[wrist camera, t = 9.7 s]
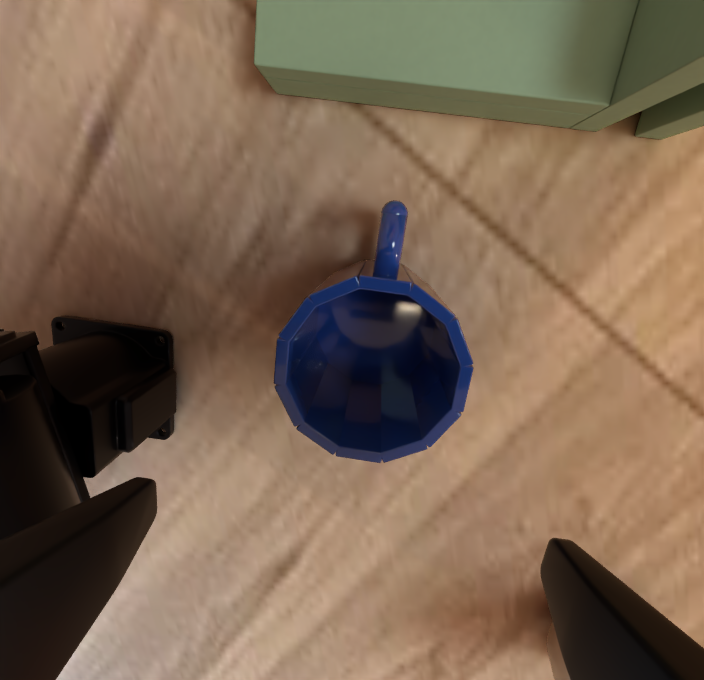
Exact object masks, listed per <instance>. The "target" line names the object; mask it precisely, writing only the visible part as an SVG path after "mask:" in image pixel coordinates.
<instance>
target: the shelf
mask: <svg viewBox="0 0 704 680" xmlns="http://www.w3.org/2000/svg"><path fill="white" fill-rule="evenodd" d="M254 65H255V66H256V67H257V69H258V70H259V71H260V73H261V74H262V75H263V76H264V78H265V79H266V80H267V82H268V83H269V84H270V86H271V87H272V88H273V89H274V91H275V92H276V93H277V94H285V95H293V96H302V97H310V98H319V99H327V100H336V101H344V102H352V103H361V104H369V105H378V106H386V107H394V108H403V109H411V110H420V111H428V112H437V113H445V114H453V115H462V116H470V117H479V118H487V119H496V120H504V121H512V122H521V123H529V124H538V125H546V126H554V127H563V128H570V129H578V130H586V131H594V132H596V131H599V130H601V129H603V128H605V127H607V126H610V125H612V124H614V123H616V122H618V121H621V120H623V119H625V118H627V117H629V116H631V115H634V114H636V113H638V112H640V111H642V113H641V116H640V120H639V123H638V126H637V130H636V133H635V136H637V137H645V138H654V139H665V138H668V137H671V136H674V135H677V134H680V133H683V132H686V131H689V130H692V129H696V128H699V127H702V126H704V0H257V5H256V27H255V50H254Z"/></svg>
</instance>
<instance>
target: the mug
mask: <svg viewBox="0 0 704 680" xmlns="http://www.w3.org/2000/svg"><path fill="white" fill-rule="evenodd" d="M407 217H408V211H407V208H406V206H405V205H404V204H403V203H402V202H400V201H397V200H393V201H390V202H388V203H386V204H385V205H384V207H383V208H382V211H381V217H380V224H379V232H378V239H377V246H376V253H375V260H372V259H368V260H367V261H366V260H362V261H360V262H358V263H355V264H353V265H350V266H348V267H346V268H343V269H341V270H339V271H336V272H334V273H333V274H332V275H331V276H330V277H328V278H327V279H326V280H325V281H324V282H323V283H322V284H321V285H320V286H318V287H317V288H316V289H315V290H314V291H313V292H312V293H311V294H309V295H308V296H307V297H306V298H305V299H304V301H303V302H302V304H301V305H300V306H299V308H298V309H297V310H296V312H295V313H294V314H293V316H292V317H291V319H290V320H289V321H288V323H287V324H286V325H285V327H284V328H283V329H282V331H281V332H280V334H279V338H278V339H277V346H276V359H275V373H274V384H276V385H275V389H276V391H277V393H278V395H279V397H280V399H281V401H282V403H283V405H284V407H285V409H286V411H287V413H288V415H289V417H290V419H291V421H292V423H293V425H294V426H297V430H298V431H300V432H301V433H303V434H304V435H305V436H307V437H308V438H310V439H311V440H313V441H314V442H315V443H317V444H318V445H320V446H321V447H322V448H324V449H325V450H327V451H328V452H329V453H331V454H334V453H335V452H336V456H338V457H345V458H351V459H358V460H364V461H370V462H377V463H381V461H382V460H383V462H384V463H385V462H388V461H391V460H395V459H398V458H401V457H404V456H407V455H410V454H413V453H417V452H420V451H423V450H426V449H427V446H429V447H431V446H432V445H433V444H434V443H435V442H436V441H437V440H438V439H439V438H440V437H441V436H442V435H443V434H444V432H445V431H446V430H447V429H448V428H449V427H450V426H451V425H452V424H453V423H454V422H455V421H456V420H457V419H458V418H459V417H460V416H461V412H463V411H464V407H465V402H466V398H467V394H468V390H469V385H470V381H471V377H472V372H473V366H472V364H473V361H472V358H471V355H470V352H469V349H468V346H467V344H466V341H465V338H464V335H463V332H462V330H461V327H460V324H459V321H458V319H457V318H456V317H455V315H454V313H453V312H452V311H451V310H450V309H449V308H448V306H447V305H446V304H445V303H444V302H443V300H442V299H441V298H440V297H439V296H438V295H437V293H436V292H435V291H434V290H433V289H432V288H431V286H430V285H429V284H427V283H426V282H425V281H424V280H422V279H421V278H420V277H419V276H417V275H416V274H415V273H414V272H412V271H411V270H410V269H409V268H407V267H406V266H405V265H402V264H401V263H400V260H401V254H402V248H403V242H404V236H405V229H406V223H407Z"/></svg>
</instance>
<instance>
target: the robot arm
mask: <svg viewBox="0 0 704 680" xmlns="http://www.w3.org/2000/svg"><path fill="white" fill-rule="evenodd" d="M62 322H63V324H64V325H65V328H64V327H63V326H62ZM51 325H52V335H53V345H54V346H51V347H48V348H45V349H42V350H39V351H38V348H37V345H39V341H38V338H37V335H36V333H35V331H29V332H19V333H15V331H4V329H0V680H56V678H57V677H58V675H59V674H60V672H61V671H62V669H63V668H64V667H65V665H66V664H67V662H68V661H69V659H70V658H71V656H72V655H73V653H74V652H75V650H76V649H77V647H78V646H79V644H80V643H81V641H82V640H83V638H84V637H85V635H86V634H87V632H88V631H89V629H90V628H91V626H92V625H93V623H94V622H95V620H96V619H97V617H98V616H99V614H100V613H101V611H102V610H103V608H104V607H105V605H106V604H107V602H108V601H109V599H110V598H111V596H112V595H113V593H114V591H115V590H116V588H117V587H118V585H119V583H120V582H121V580H122V578H123V576H124V575H125V573H126V571H127V569H128V567H129V565H130V564H131V562H132V560H133V558H134V556H135V554H136V553H137V551H138V549H139V547H140V545H141V543H142V541H143V540H144V538H145V536H146V534H147V532H148V530H149V529H150V527H151V525H152V523H153V521H154V519H155V517H156V513H157V492H156V483H155V481H154V480H153V479H148V478H141V477H136V478H133V479H131V480H129V481H127V482H125V483H122V484H120V485H118V486H116V487H114V488H112V489H109V490H107V491H105V492H103V493H101V494H99V495H96V496H94V497H92V498H90V496H89V493H88V490H87V487H86V484H85V481H84V479H83V477H87V478H93V477H94V476H96V475H97V474H98V473H99V472H100V471H101V470H103V469H104V468H105V467H106V466H107V465H108V464H110V463H111V462H112V461H113V460H114V459H115V458H117V457H118V456H119V455H120V454H121V453H122V452H127V453H129V452H131V451H132V450H134V449H135V448H136V447H137V446H138V445H139V444H141V443H142V442H143V441H144V440H145V439H146V438H147V437H148V438H154V439H161V440H165V439H168V438H169V437H170V436H171V435H172V434H173V432H174V413H176V372H175V370H174V369H173V336H172V335H171V333H170V332H168V331H167V330H164V329H157V328H150V327H143V326H136V325H129V324H122V323H115V322H108V321H101V320H94V319H87V318H80V317H73V316H66V315H63V316H59V317H56V318H54V319H53V320H52V324H51ZM160 336H162V337H163V338H164V340H165V342H164V343H163V342H161V340H160ZM161 428H163V429H165V430H166V432H163V431H162V429H161ZM541 579H542V583H543V587H544V591H545V594H546V598H547V602H548V606H549V609H550V613H551V617H552V621H553V625H554V628H555V632H556V636H557V640H558V643H559V647H560V650H561V654H562V657H563V660H564V663H565V666H566V669H567V672H568V674H569V677H570V680H704V648H703V647H701V646H700V645H699V644H698V643H696V642H695V641H694V640H693V639H692V638H690V637H689V636H688V635H687V634H685V633H684V632H683V631H682V630H681V629H679V628H678V627H677V626H676V625H674V624H673V623H672V622H671V621H670V620H668V619H667V618H666V617H665V616H663V615H662V614H661V613H660V612H659V611H657V610H656V609H655V608H654V607H652V606H651V605H650V604H649V603H648V602H646V601H645V600H644V599H643V598H641V597H640V596H639V595H638V594H636V593H635V592H634V591H633V590H632V589H630V588H629V587H628V586H627V585H625V584H624V583H623V582H622V581H621V580H619V579H618V578H617V577H616V576H614V575H613V574H612V573H611V572H610V571H608V570H607V569H606V568H605V567H603V566H602V565H601V564H600V563H599V562H597V561H596V560H595V559H594V558H592V557H591V556H590V555H589V554H587V553H586V552H585V551H584V550H583V549H581V548H580V547H579V546H578V545H576V544H575V543H574V542H573V541H571V540H566V539H559V538H552V539H550V541H549V543H548V545H547V549H546V552H545V555H544V558H543V561H542V564H541Z"/></svg>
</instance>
